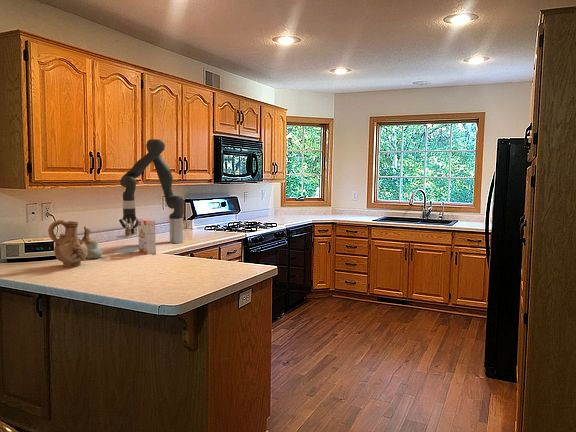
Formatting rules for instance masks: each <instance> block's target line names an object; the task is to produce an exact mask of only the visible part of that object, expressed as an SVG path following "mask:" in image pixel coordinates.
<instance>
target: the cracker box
mask: <svg viewBox="0 0 576 432" xmlns="http://www.w3.org/2000/svg"><path fill="white" fill-rule="evenodd" d="M137 219H138V226H137V234H138V246H139V250H138V251H139V252H140V253H142V254H145V255H157V246H156V245H157V244H156V222H155V221H156V220H153V219H150V218H137Z"/></svg>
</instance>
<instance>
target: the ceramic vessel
mask: <svg viewBox="0 0 576 432" xmlns="http://www.w3.org/2000/svg"><path fill="white" fill-rule="evenodd" d="M59 225H60V226H61V225H62V226H63V227H64V229H65V231H64V233H59V237H56V234H55V232H54V229H55V228H56V227H57V226H59ZM78 226H79V222H78V221H73V220H70V221H66V220H64V219H58V220H55V221H53V222H52V223H51V224H50V225H49V226H48V229H47V230H48V236H49V238H50V239H51V240H52V241H53V242H54V244H55V245H54V247H53V253H54V255H55V258H56V259H57V260H58V261H59V262H62V265H63V266H62V267H65V268H75V266H76V267H79V266H81V265H82V263H81V261H84V260H85V259H87V258H86V257H87V254H88V253H87V245H89V244H92V243H94V241H95V240H92V239H91V238H90V234H91V232H92V231H91V229H90V228H87V227H86V225H85V226H84V227H83V229H84V235H83V237H82V238H81V239H80V238H79V237H78Z"/></svg>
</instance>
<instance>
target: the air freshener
mask: <svg viewBox="0 0 576 432" xmlns="http://www.w3.org/2000/svg"><path fill="white" fill-rule="evenodd" d="M93 241H94V243H92V244H89V245H87V253H88V254H87V257H86V258H85V259H87V260H96V259H99V258H101V256H102V255H103V253H104V252H103V250H102V249H101V248H99V246H98V245H99V244H98V243H99V242H98V241H97V240H93Z"/></svg>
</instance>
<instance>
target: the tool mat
mask: <svg viewBox="0 0 576 432" xmlns="http://www.w3.org/2000/svg"><path fill="white" fill-rule="evenodd" d="M137 251H139V245H127V246H125V247H123V248H120V249H118V250H116V251H112V252H111V254H133V253H134V252H137Z"/></svg>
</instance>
